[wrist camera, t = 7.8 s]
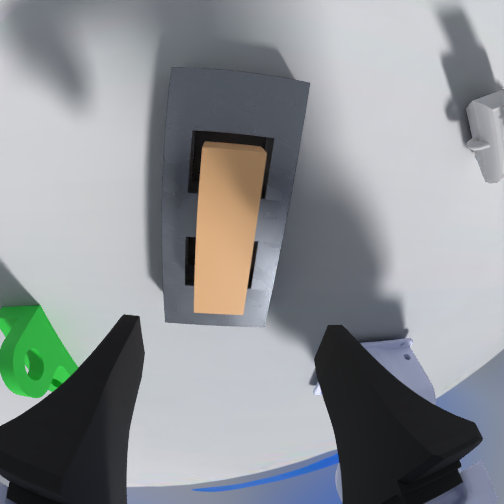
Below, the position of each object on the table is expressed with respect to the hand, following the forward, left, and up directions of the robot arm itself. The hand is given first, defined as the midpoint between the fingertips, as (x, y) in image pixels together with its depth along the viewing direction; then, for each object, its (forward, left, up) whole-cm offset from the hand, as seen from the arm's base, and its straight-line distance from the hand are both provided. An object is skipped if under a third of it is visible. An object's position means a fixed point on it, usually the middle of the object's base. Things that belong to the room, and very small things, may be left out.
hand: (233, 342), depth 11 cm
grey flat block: (0, -2, -10) cm, 10 cm away
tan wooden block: (0, -2, -10) cm, 10 cm away
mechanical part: (+18, +15, -10) cm, 26 cm away
